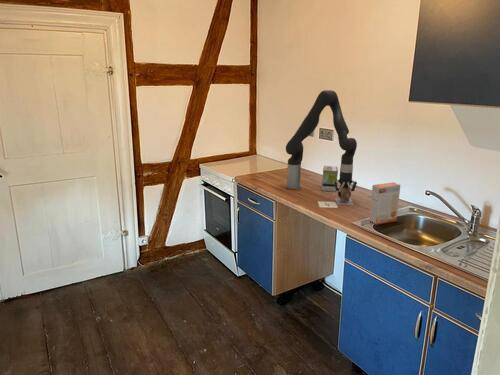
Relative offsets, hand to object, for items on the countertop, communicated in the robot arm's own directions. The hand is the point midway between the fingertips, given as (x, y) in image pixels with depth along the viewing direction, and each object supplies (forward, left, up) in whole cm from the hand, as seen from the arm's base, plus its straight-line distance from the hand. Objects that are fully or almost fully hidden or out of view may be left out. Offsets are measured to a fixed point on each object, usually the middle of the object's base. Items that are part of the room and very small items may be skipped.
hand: (344, 197), depth 236 cm
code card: (-11, -7, -3) cm, 13 cm away
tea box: (-5, +29, -3) cm, 30 cm away
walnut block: (0, 0, -1) cm, 1 cm away
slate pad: (0, 0, -3) cm, 3 cm away
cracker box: (+15, -33, -3) cm, 36 cm away
